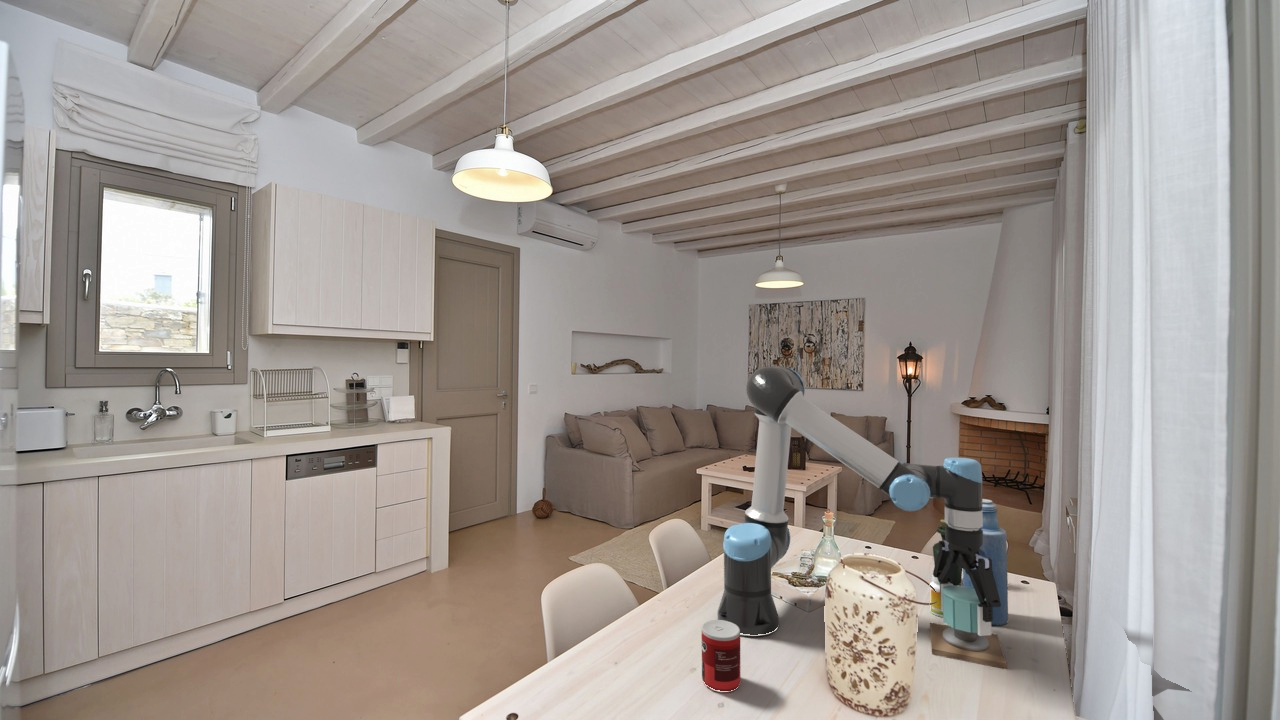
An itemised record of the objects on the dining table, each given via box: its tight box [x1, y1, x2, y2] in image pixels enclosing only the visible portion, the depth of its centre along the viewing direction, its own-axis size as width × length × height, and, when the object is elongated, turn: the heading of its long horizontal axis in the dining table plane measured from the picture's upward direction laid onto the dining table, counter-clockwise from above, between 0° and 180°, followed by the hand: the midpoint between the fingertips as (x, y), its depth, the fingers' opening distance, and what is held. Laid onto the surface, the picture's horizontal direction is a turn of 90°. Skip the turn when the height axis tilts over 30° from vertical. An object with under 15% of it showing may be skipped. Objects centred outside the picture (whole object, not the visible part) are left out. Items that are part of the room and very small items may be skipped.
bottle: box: [962, 498, 1009, 627], centre depth 139 cm, size 10×10×30 cm
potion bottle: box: [932, 518, 963, 586], centre depth 163 cm, size 8×8×18 cm
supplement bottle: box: [929, 573, 950, 618], centre depth 142 cm, size 5×5×10 cm
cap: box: [942, 585, 986, 633], centre depth 125 cm, size 9×9×7 cm
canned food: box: [701, 619, 741, 691], centre depth 111 cm, size 8×8×11 cm
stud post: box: [929, 622, 1008, 670], centre depth 125 cm, size 14×14×12 cm
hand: (965, 622), depth 125 cm, fingers open, 11 cm apart
